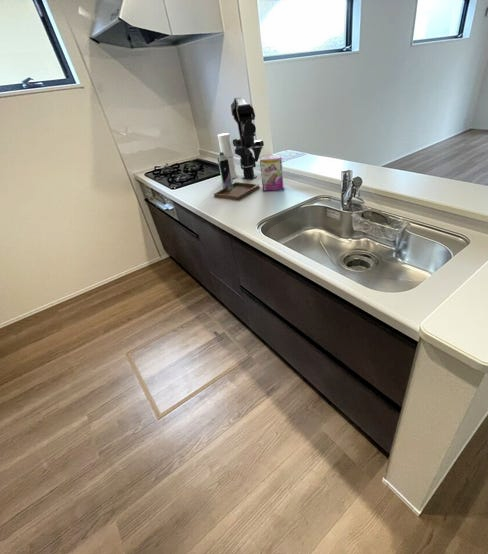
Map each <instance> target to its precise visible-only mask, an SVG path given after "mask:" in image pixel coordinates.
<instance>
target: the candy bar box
mask: <svg viewBox="0 0 488 554" xmlns="http://www.w3.org/2000/svg"><path fill="white" fill-rule="evenodd" d="M259 166H260V176H261V184H262V191H263V192H271V191H283V190H284V187H285V186H284V173H283V159H282V156H271V157H260V158H259Z"/></svg>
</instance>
